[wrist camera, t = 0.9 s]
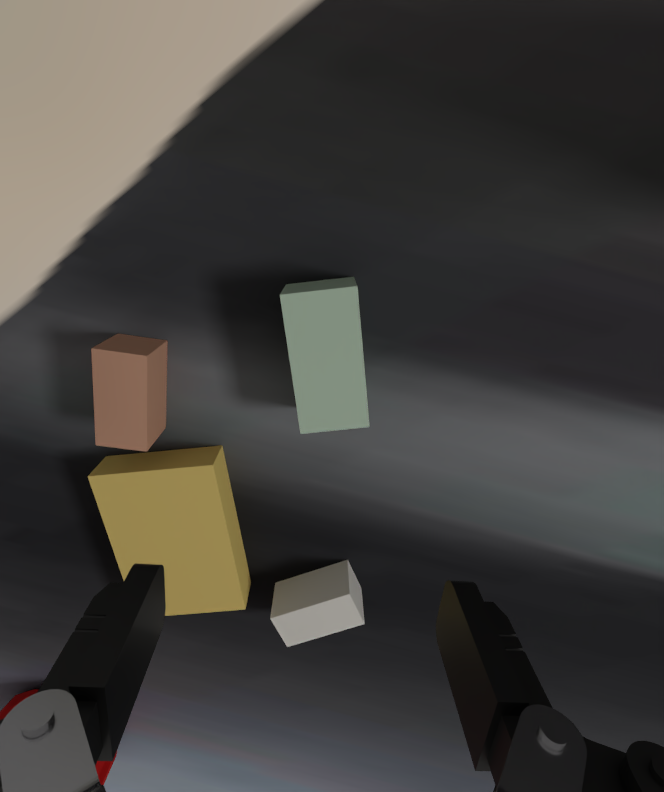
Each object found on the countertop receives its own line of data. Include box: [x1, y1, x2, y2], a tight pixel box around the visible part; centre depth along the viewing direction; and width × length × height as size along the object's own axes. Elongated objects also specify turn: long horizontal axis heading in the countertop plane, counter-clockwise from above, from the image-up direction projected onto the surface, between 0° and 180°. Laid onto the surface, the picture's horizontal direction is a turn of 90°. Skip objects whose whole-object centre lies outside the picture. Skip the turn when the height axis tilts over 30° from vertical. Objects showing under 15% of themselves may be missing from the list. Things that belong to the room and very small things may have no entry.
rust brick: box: [91, 334, 167, 452], centre depth 28 cm, size 6×3×4 cm, turn 171°
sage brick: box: [280, 277, 370, 434], centre depth 27 cm, size 4×8×4 cm, turn 6°
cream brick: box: [270, 560, 365, 647], centre depth 34 cm, size 6×3×4 cm, turn 112°
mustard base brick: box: [88, 446, 251, 616], centre depth 32 cm, size 8×12×3 cm, turn 6°
